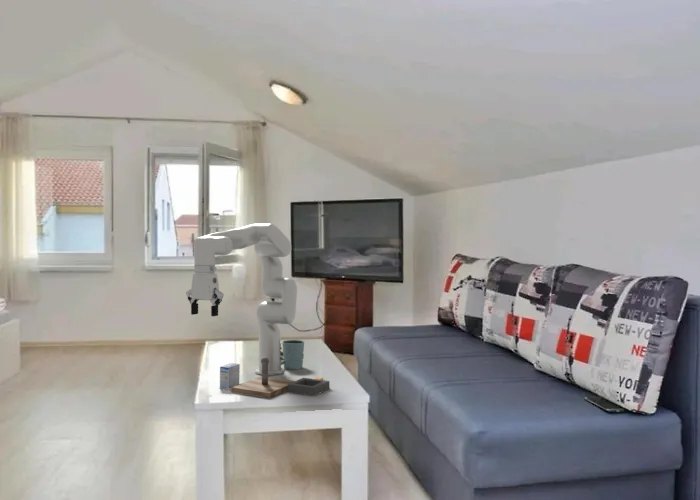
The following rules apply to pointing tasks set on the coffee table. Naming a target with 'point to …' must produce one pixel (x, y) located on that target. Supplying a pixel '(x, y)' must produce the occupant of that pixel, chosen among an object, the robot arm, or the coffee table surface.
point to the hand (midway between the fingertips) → (204, 315)
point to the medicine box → (229, 375)
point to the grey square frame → (308, 386)
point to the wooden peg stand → (262, 384)
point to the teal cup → (293, 354)
